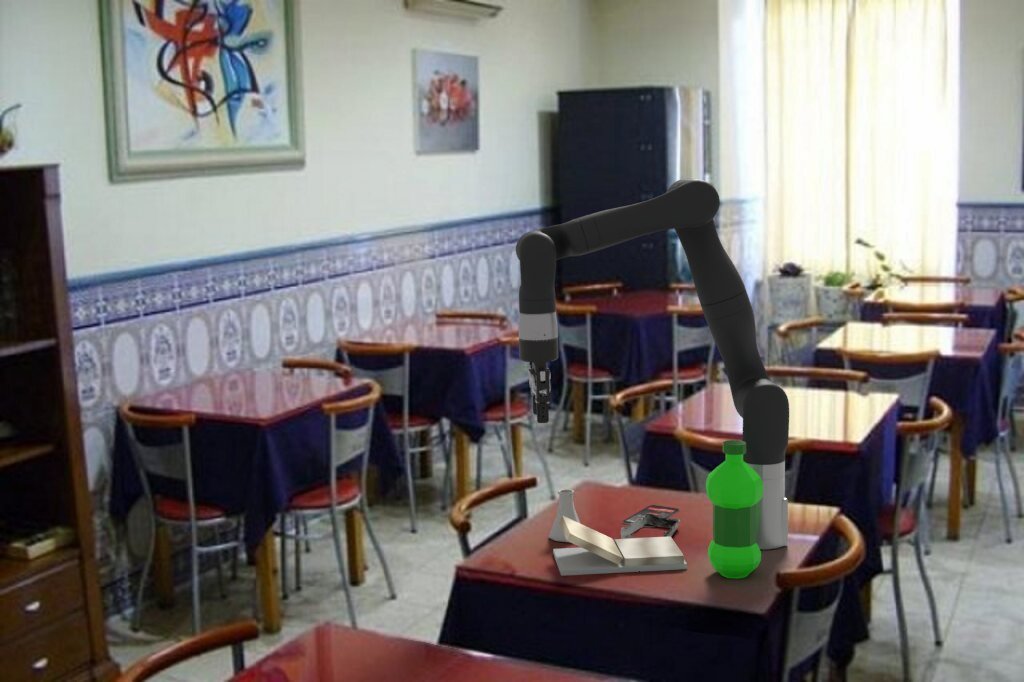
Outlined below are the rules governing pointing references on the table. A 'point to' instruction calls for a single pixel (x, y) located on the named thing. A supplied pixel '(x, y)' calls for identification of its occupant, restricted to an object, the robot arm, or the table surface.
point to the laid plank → (649, 551)
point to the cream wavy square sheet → (590, 540)
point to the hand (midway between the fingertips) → (540, 418)
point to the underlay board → (599, 563)
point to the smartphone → (656, 510)
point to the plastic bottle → (734, 513)
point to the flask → (566, 510)
